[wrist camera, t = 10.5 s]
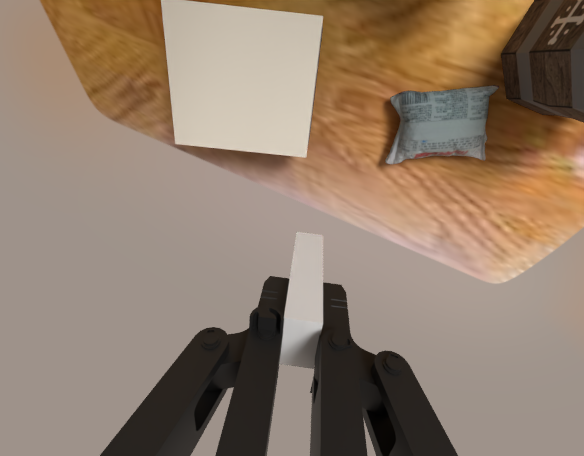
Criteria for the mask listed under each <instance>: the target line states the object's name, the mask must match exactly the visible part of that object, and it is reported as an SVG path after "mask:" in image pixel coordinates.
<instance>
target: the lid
mask: <svg viewBox="0 0 584 456" xmlns="http://www.w3.org/2000/svg"><path fill="white" fill-rule="evenodd" d="M161 6H162V16H163V26H164V36H165V46H166V56H167V66H168V76H169V86H170V96H171V106H172V116H173V126H174V136H175V144H180V145H190V146H199V147H209V148H219V149H228V150H238V151H247V152H257V153H267V154H276V155H286V156H295V157H305V158H306V155H307V147H308V139H309V130H310V122H311V114H312V105H313V97H314V89H315V80H316V72H317V64H318V56H319V47H320V39H321V31H322V22H323V16H319V15H311V14H302V13H293V12H284V11H275V10H266V9H257V8H248V7H239V6H230V5H222V4H213V3H204V2H195V1H186V0H161Z"/></svg>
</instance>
